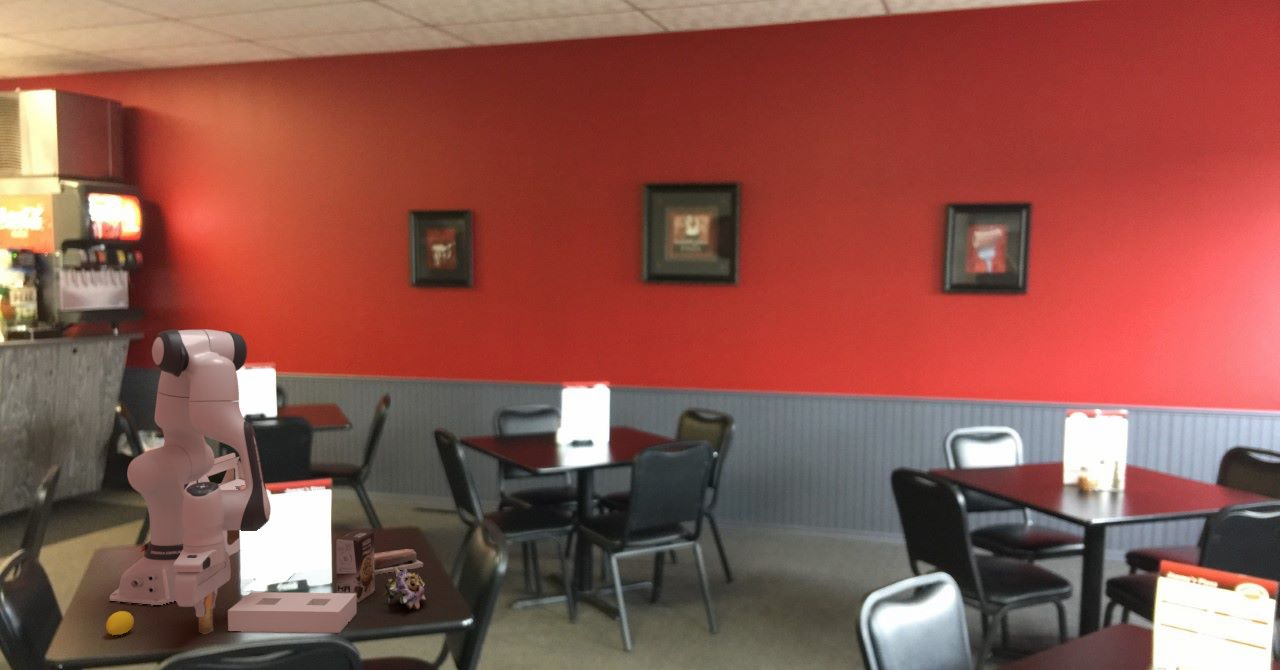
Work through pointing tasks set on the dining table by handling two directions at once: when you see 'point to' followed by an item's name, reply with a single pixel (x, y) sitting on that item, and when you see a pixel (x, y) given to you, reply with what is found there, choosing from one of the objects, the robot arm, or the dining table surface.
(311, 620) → the socket block
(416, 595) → the passion flower
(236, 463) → the gable box
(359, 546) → the coffee box
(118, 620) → the lemon
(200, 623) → the brass pin
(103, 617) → the dining table surface
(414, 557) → the packaged product
